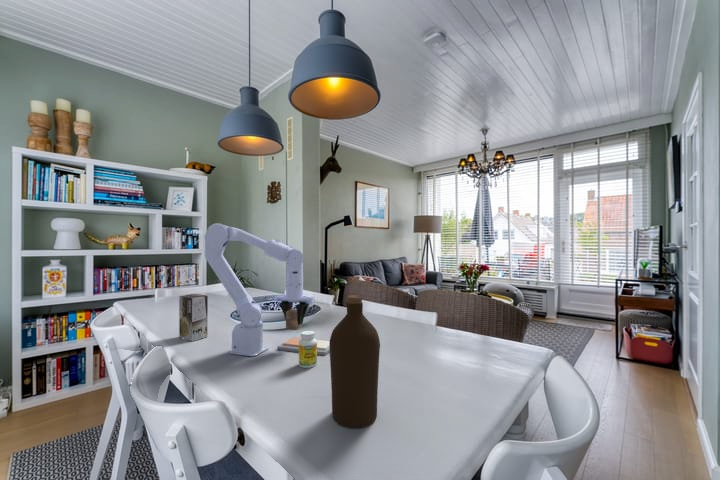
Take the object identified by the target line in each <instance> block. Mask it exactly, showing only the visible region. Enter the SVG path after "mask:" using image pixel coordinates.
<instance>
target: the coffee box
mask: <svg viewBox="0 0 720 480" xmlns="http://www.w3.org/2000/svg"><path fill="white" fill-rule="evenodd" d="M178 299H179V301H178V302H179V304H178V306H179V308H178V311H179V313H178V316H179V319H178V321H179V323H178V325H179V328H178V329H179V330H178V331H179V333H178V335H179V337H181V338H180V339H182V338H184V339H183V340H186V339H187V340H186V341H189V340H190V342H195V341H198V339H199V340H202V339H201V338H203V339H206V338H205V337H207V338H208V319H209V318H208V315H209V314H208V307H209V306H208V305H209V304H208V301H209V300H208V299H209V296H208V294H207V295H206V294H198V293H191V294H185V295H179V296H178ZM179 337H178V338H179ZM194 340H195V341H194Z"/></svg>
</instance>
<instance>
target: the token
mask: <svg viewBox="0 0 720 480" xmlns="http://www.w3.org/2000/svg"><path fill="white" fill-rule="evenodd" d="M302 327H303V324H301V325H298V314H297V308H292V309H291V310H288V311H286V320H285V330H291V331H297V330H299V329H301V328H302Z"/></svg>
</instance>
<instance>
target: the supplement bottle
mask: <svg viewBox="0 0 720 480" xmlns="http://www.w3.org/2000/svg"><path fill="white" fill-rule="evenodd" d="M315 333H316V332H315V331H314V330H305V331H301V333H300V338H302V339H301V340H300V341H299V352H298V365H299V366H298V367H300V368H303V369H310V368H311V369H312V368H314V367H315V366H316V365H317V364H318V354H317V340H318V339H316V338H315V336H316V334H315Z"/></svg>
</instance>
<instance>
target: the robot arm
mask: <svg viewBox="0 0 720 480" xmlns="http://www.w3.org/2000/svg"><path fill="white" fill-rule="evenodd" d="M203 238H204V257H205V260H206V261H207V264H209V266H210V267H211V269H212V270H213V272H214V274H215V275H216V276H217V278H218V279H219V280H218V281H220V282H221V284H222V285H223V288H225V291H226V292H227V293H228V295H229V296H230V298H231V299H232V301H233V303H234V305H235V308H236V310H237V312H238V314H239V317H240V318H239V319H240V323H238V324H235V326H234V327H233V329H232V331H231V351H230V352H229V353H230V354H232V355H239V356H247V357H256V356H258V355H260V354H261V353H263V352H265V351H267V350H268V349H269V347H268V346H264V343H263V342H264V322H263V321H262V320H261V319H262V315H263V314H262V313H263V308H262V306H261V305H260V303H258V302H256V301H255V300H254V299H253V297H252V296H251V295H250V294H249V293H248V291H247V290H246V289H245V287H244V286H243V284H242V282H241V280H240V279H239V278H238V276H237V274H236V273H235V271H234V270H233V268H232V267H231V265H230V264H229V263H228V260H227V259H226V257H225V256H224V253H225V250H226V247H227V245H228V244H229V242H237V241H240V242H242V243H245V244H248V245H251V246H253V247H256V248H259V249H261V250H263V252H264V254H265V256H268V257H270V258H273V259H275V260H277V261H279V262H286V263H287V264H286V271H285V294H284V295H278V294H277V295H275V296H274V302H276V303H278V302H279V305H278V306H279V307H280V309H281V311H282V312H283V316H284V320H285V321H286V311H288V310H291V309H293V306H294V304H295V303H297V304H296V305H295V307H296V308H295V309H297V314H298V325H301V324H302V325H303V323H304V319H305V316H306V315H305V314H306V312H307V310H308V308H309V307H310V305H313V304H315V302H316V301H315V300H316V298H315V297H314V296H312V297H311V296H306V295H304V270H303V263H304V260H305V257H304V255H303V253H302V252H301V251H300V250H299V249H297V248H293V246H292V245H286V244H284V243H282V242H280V240H279V239H277V238H276V240H275V239H269V240H265V239H262V238H260V237H258V236H256V235H254V234H252V233H250V232H247V231H245V230H243V229H240V228H237V227H233V226H229V225H225V224H222V223H218V222H217V223H213V224H211V225H209V226H208V228H207V229H206V232H205V234H204V236H203Z"/></svg>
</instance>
